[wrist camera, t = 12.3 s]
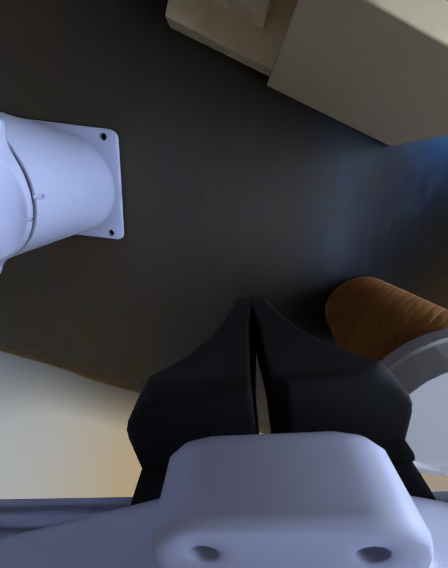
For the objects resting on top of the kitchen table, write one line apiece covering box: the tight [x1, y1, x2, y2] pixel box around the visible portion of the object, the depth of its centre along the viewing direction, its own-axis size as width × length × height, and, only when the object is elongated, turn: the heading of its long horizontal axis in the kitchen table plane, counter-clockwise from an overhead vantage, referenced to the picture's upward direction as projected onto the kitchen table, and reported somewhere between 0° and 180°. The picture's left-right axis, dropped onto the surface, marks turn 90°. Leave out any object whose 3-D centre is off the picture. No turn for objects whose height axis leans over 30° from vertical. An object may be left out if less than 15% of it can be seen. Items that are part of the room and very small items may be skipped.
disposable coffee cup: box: [325, 277, 448, 476], centre depth 17 cm, size 10×10×12 cm
